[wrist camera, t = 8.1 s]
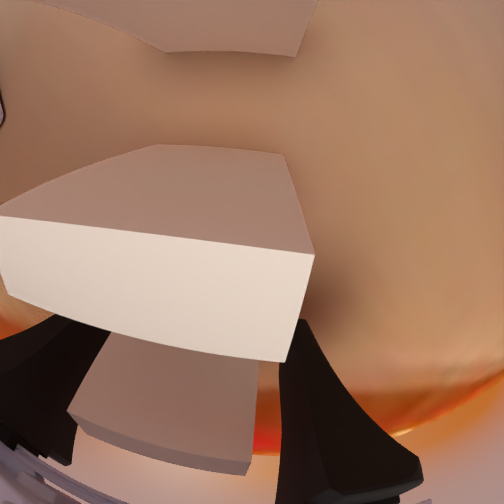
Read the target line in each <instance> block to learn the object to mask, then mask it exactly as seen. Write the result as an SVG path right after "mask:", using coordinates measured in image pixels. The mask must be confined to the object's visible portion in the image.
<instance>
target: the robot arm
mask: <svg viewBox="0 0 504 504" xmlns="http://www.w3.org/2000/svg"><path fill="white" fill-rule="evenodd" d="M2 120H3V110H2V106H1V102H0V124H1V122H2ZM111 332H112V331H108V330H105V329H101V328H98V327H95V326H92V325H88V324H85V323H82V322H79V321H76V320H73V319H70V318H67V317H64V316H61V315H58V314H54V315H53V316H51V317H49V318H48V319H46V320H44V321H42V322H41V323H39V324H37V325H35V326H33V327H31V328H29V329H27V330H24V331H22V332H20V333H17V334H15V335H12V336H10V337H7V338H4V339H2V340H0V504H81V503H80V502H78V501H76V500H75V499H73V498H71V497H70V496H68V495H66V494H64V493H62V492H60V491H59V490H56V489H55V488H53V487H51V486H49V485H48V484H46V483H45V482H44V478H46V479H47V480H49V481H50V482H52V483H54V484H56V485H57V486H59V487H60V488H62V489H64V490H66V491H68V492H69V493H71V494H73V495H75V496H77V497H79V498H80V499H83V500H84V501H87V502H88V503H91V504H129V503H126V502H124V501H121V500H118V499H115V498H113V497H111V496H108V495H106V494H104V493H101V492H99V491H97V490H95V489H92V488H90V487H88V486H86V485H84V484H82V483H80V482H78V481H76V480H74V479H72V478H70V477H69V476H67V475H65V474H63V473H62V472H60V471H58V470H56V469H55V468H53V467H51V466H50V465H48V464H46V463H45V462H44V461H42V460H40V459H39V458H38V456H39V455H41V456H42V457H44V458H47V457H50V458H52V459H53V460H55V461H57V462H58V463H60V464H62V465H64V466H68V465H70V464H72V463H71V462H72V453H73V446H74V440H75V435H76V431H77V426H78V424H77V422H76V421H75V420H74V419H73V418H72V417H71V415H70V414H69V413H68V412H67V409H68V407H69V405H70V403H71V402H72V400H73V398H74V396H75V394H76V392H77V390H78V388H79V387H80V385H81V383H82V381H83V379H84V378H85V376H86V374H87V372H88V371H89V369H90V367H91V365H92V364H93V362H94V360H95V358H96V357H97V355H98V353H99V352H100V350H101V348H102V347H103V345H104V343H105V342H106V340H107V338H108V337H109V335H110V334H111ZM279 388H280V404H281V420H282V438H281V453H280V465H279V475H278V484H277V493H276V500H275V504H399V503H400V498H399V495H400V494H402V493H405V492H407V491H409V490H411V489H413V488H415V487H417V486H419V485H420V484H422V482H423V481H424V478H423V473H422V468H421V464H420V460H419V457H418V456H416V455H415V454H413V453H412V452H410V451H409V450H408V449H406V448H405V447H403V446H402V445H401V444H399V443H398V442H396V441H395V440H394V439H393V438H392V437H391V436H389V435H388V434H387V433H386V432H385V431H384V430H382V429H381V428H380V427H379V426H378V425H377V424H376V423H375V422H374V421H373V420H372V419H371V418H370V417H369V416H368V415H367V414H366V413H365V411H364V410H363V409H362V408H361V407H360V406H359V405H358V403H357V402H356V401H355V400H354V398H353V397H352V396H351V395H350V393H349V392H348V391H347V389H346V388H345V387H344V385H343V384H342V382H341V381H340V380H339V378H338V377H337V375H336V374H335V372H334V370H333V369H332V367H331V366H330V364H329V362H328V361H327V359H326V357H325V355H324V354H323V352H322V350H321V348H320V347H319V345H318V343H317V341H316V339H315V337H314V335H313V333H312V331H311V329H310V327H309V325H308V322H307V321H306V320H305V319H298V321H297V324H296V327H295V331H294V334H293V338H292V341H291V344H290V348H289V351H288V354H287V357H286V360H285V362H279ZM43 477H44V478H43ZM417 504H432V500H431V499H428V500H425V501H423V502H420V503H417Z"/></svg>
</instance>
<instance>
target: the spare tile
mask: <svg viewBox="0 0 504 504" xmlns="http://www.w3.org/2000/svg"><path fill="white" fill-rule="evenodd" d="M258 370H259V360H255V359H247V358H239V357H232V356H225V355H218V354H212V353H206V352H200V351H195V350H189V349H184V348H179V347H174V346H169V345H164V344H160V343H155V342H151V341H147V340H143V339H138V338H134V337H131V336H127V335H123V334H119V333H115V332H111V334H110V335H109V337H108V338H107V340H106V342H105V343H104V345H103V347H102V348H101V350H100V352H99V353H98V355H97V357H96V358H95V360H94V362H93V364H92V365H91V367H90V369H89V371H88V372H87V374H86V376H85V378H84V379H83V381H82V383H81V385H80V387H79V388H78V390H77V392H76V394H75V396H74V398H73V400H72V402H71V403H70V405H69V407H68V409H67V412H68V413H69V414H70V415H71V417H72V418H73V419H74V420H75V421H76V422H77V424H78V425H79V426H80V427H81V428H82V429H83V430H84V432H86V434H88V435H90V436H93V437H95V438H97V439H100V440H102V441H104V442H107V443H109V444H112V445H114V446H117V447H120V448H122V449H125V450H128V451H131V452H134V453H137V454H140V455H143V456H146V457H150V458H153V459H157V460H161V461H164V462H168V463H172V464H177V465H180V466H185V467H190V468H195V469H200V470H205V471H211V472H218V473H225V474H232V475H242V476H245V475H246V473H247V470H248V468H249V466H250V464H251V459H252V447H253V435H254V423H255V410H256V397H257V384H258Z"/></svg>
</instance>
